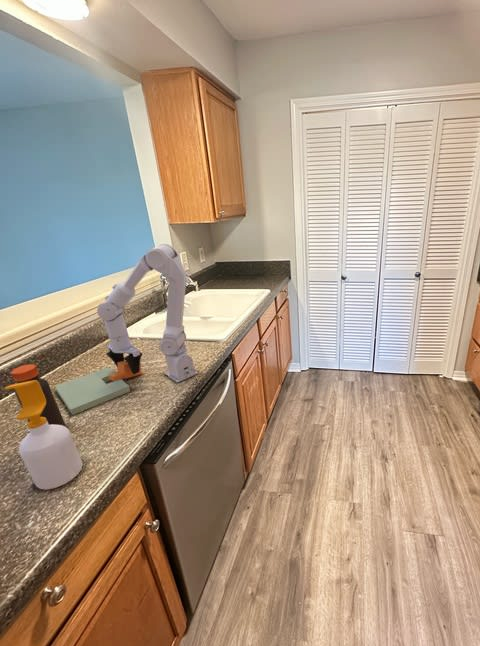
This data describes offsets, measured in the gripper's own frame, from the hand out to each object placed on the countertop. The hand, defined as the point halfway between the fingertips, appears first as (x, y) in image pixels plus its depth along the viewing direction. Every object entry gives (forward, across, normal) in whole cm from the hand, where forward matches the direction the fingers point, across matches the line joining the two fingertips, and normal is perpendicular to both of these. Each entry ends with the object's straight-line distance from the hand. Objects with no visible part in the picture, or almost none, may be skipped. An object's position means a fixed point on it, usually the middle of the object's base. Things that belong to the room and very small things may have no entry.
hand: (129, 370), depth 113 cm
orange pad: (+1, 0, +2) cm, 2 cm away
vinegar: (+3, -7, +30) cm, 30 cm away
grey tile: (+2, +4, +12) cm, 13 cm away
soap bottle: (+3, -24, +37) cm, 44 cm away
